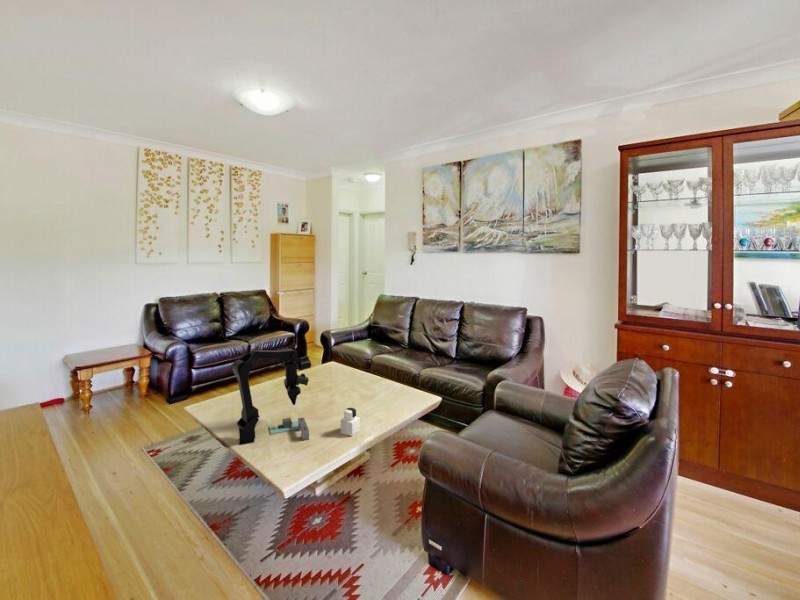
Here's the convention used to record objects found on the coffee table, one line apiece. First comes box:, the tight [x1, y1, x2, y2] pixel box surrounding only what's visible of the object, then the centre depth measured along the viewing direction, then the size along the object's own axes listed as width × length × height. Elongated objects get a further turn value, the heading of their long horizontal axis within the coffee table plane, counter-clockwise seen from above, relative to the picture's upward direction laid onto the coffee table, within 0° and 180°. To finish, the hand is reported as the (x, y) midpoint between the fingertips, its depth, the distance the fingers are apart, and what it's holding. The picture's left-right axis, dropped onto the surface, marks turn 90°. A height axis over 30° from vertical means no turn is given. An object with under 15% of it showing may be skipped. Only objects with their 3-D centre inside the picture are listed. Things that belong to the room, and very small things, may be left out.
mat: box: [268, 420, 299, 435], centre depth 189 cm, size 14×9×1 cm, turn 114°
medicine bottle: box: [340, 407, 361, 437], centre depth 184 cm, size 7×7×12 cm
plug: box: [274, 417, 294, 430], centre depth 188 cm, size 9×4×4 cm, turn 114°
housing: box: [297, 417, 310, 441], centre depth 182 cm, size 3×15×5 cm, turn 24°
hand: (292, 401), depth 191 cm, fingers open, 9 cm apart
